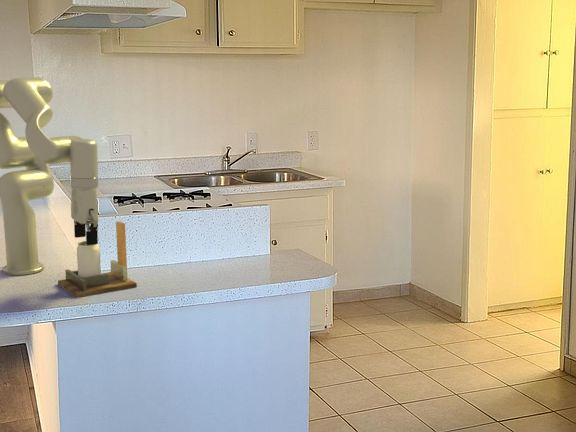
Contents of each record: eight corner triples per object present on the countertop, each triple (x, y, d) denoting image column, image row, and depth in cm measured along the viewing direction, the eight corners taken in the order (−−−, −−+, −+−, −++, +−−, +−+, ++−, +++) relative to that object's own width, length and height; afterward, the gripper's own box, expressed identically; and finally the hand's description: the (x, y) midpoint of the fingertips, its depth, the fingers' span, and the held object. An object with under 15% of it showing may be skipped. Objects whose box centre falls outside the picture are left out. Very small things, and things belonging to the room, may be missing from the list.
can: (103, 279, 232) (101, 240, 230) (98, 285, 226) (96, 245, 224) (81, 279, 232) (79, 240, 230) (76, 286, 226) (73, 245, 223)
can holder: (65, 279, 232) (65, 269, 232) (93, 275, 237) (93, 265, 237) (83, 291, 220) (82, 281, 220) (112, 286, 225) (111, 276, 224)
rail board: (58, 284, 232) (58, 280, 232) (115, 275, 242) (115, 271, 242) (76, 297, 219) (76, 293, 219) (136, 287, 229) (136, 283, 229)
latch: (111, 273, 237) (108, 220, 234) (118, 272, 239) (116, 219, 236) (123, 281, 230) (120, 226, 226) (131, 279, 231) (128, 225, 228)
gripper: (61, 178, 228) (63, 235, 232) (82, 188, 214) (84, 249, 218) (86, 177, 232) (87, 232, 236) (108, 186, 218) (109, 246, 222)
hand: (86, 240), depth 227 cm, fingers open, 9 cm apart
